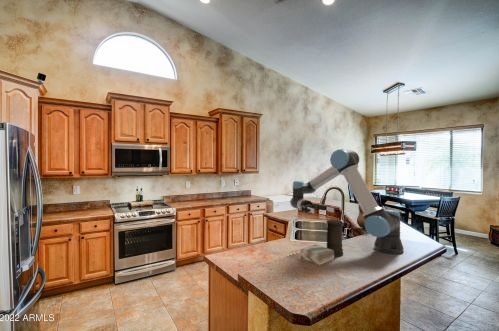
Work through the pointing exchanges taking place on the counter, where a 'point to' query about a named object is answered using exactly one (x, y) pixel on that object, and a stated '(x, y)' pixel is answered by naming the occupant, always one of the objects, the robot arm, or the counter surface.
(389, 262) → the counter surface
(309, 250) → the stand
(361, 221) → the butternut squash
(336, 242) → the container
